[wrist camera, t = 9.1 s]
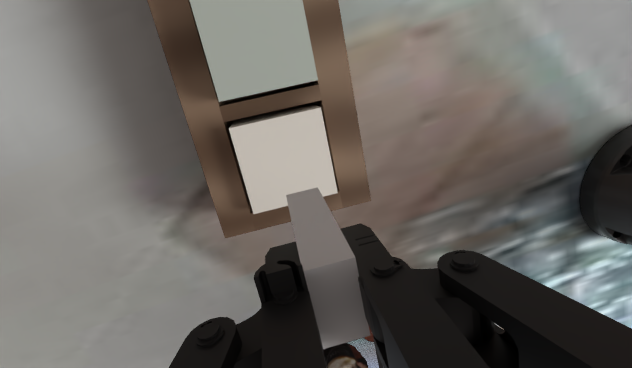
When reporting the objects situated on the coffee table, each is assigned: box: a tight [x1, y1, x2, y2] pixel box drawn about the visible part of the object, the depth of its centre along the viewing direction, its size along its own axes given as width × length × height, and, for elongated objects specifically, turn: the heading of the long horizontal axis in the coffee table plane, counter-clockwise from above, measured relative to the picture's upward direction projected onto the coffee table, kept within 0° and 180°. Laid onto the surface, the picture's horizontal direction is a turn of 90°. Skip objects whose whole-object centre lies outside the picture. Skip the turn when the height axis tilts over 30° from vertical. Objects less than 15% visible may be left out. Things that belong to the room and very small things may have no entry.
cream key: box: [229, 104, 338, 214], centre depth 28 cm, size 7×7×5 cm
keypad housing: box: [147, 0, 371, 238], centre depth 28 cm, size 29×13×7 cm, turn 12°
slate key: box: [190, 0, 318, 102], centre depth 25 cm, size 7×7×5 cm
